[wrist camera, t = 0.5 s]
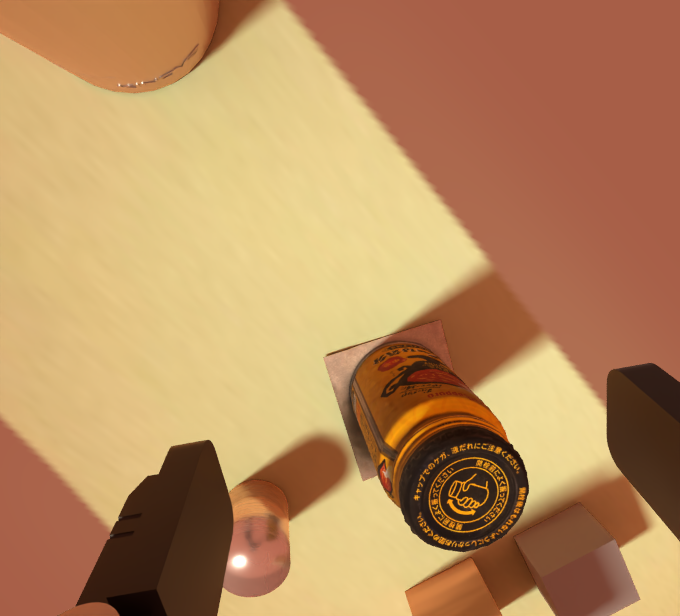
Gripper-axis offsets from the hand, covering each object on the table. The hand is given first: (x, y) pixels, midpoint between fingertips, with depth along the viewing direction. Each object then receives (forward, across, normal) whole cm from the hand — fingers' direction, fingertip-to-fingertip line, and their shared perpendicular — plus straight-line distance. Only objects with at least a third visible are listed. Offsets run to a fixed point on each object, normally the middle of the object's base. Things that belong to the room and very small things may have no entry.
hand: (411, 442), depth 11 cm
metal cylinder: (+18, +9, +16) cm, 25 cm away
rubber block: (+19, -10, +24) cm, 32 cm away
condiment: (+19, -1, +11) cm, 22 cm away
